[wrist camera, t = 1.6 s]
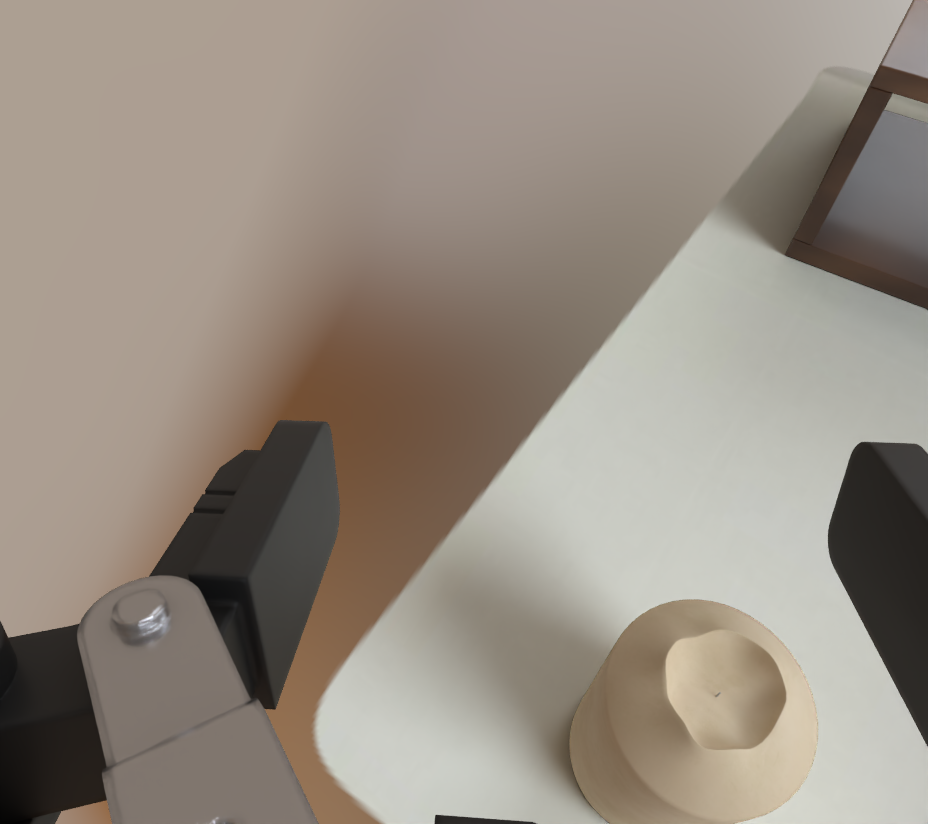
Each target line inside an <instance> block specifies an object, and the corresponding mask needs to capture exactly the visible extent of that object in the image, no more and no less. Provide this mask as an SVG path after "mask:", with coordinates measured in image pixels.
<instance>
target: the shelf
mask: <svg viewBox="0 0 928 824" xmlns="http://www.w3.org/2000/svg"><path fill="white" fill-rule="evenodd" d="M893 93H894V94H897V95H901V96H904V97H907V98H911V99H914V100H917V101H921V102H924V103H927V104H928V0H913V1H912V3H911V5H910V7H909V9H908V11H907V13H906V15H905V17H904V19H903V21H902V23H901V25H900V26H899V28H898V31H897V33H896V34H895V37H894V38H893V40H892V42H891V44H890V46H889V48H888V50H887V52H886V54H885V56H884V58H883V59H882V61H881V63H880V65H879V67H878V69H877V71H876V73H875V75H874V77H873V79H872V81H871V83H870V85H869V87H868V89H867V91H866V93H865V95H864V97H863V99H862V101H861V103H860V105H859V107H858V109H857V111H856V113H855V115H854V117H853V119H852V121H851V123H850V125H849V127H848V129H847V131H846V133H845V135H844V137H843V139H842V141H841V143H840V145H839V147H838V149H837V151H836V153H835V155H834V157H833V159H832V161H831V163H830V165H829V167H828V169H827V171H826V173H825V175H824V178H823V180H822V182H821V184H820V186H819V188H818V190H817V192H816V194H815V196H814V198H813V200H812V202H811V204H810V206H809V208H808V210H807V212H806V214H805V216H804V218H803V220H802V222H801V224H800V226H799V228H798V230H797V232H796V234H795V236H794V238H793V240H792V242H791V244H790V246H789V248H788V250H787V252H786V254H785V255H786V256H789V257H792V258H794V259H797V260H800V261H802V262H805V263H808V264H810V265H813V266H816V267H818V268H821V269H824V270H826V271H829V272H831V273H834V274H837V275H839V276H842V277H845V278H847V279H850V280H853V281H855V282H858V283H861V284H863V285H866V286H869V287H871V288H874V289H877V290H879V291H882V292H885V293H887V294H890V295H892V296H895V297H898V298H900V299H903V300H906V301H908V302H911V303H914V304H916V305H919V306H922V307H924V308H927V309H928V123H926V122H922V121H919V120H916V119H913V118H909V117H906V116H903V115H899V114H896V113H893V112H890V111H886V110H884V109H885V107H886V105H887V103H888V101H889V99H890V97H891V96H892V94H893Z"/></svg>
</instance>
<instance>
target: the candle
mask: <svg viewBox="0 0 928 824" xmlns="http://www.w3.org/2000/svg"><path fill="white" fill-rule="evenodd" d="M817 741H818V720H817V712H816V707H815V703H814V699H813V695H812V692H811V689H810V687H809V684H808V681H807V679H806V677H805V675H804V673H803V671H802V669H801V667H800V666H799V664H798V663H797V661H796V659H795V658H794V656H793V655H792V654H791V652H790V651H789V650H788V649H787V647H786V646H785V645H784V644H783V642H782V641H781V640H780V639H779V638H778V637H777V636H776V635H775V634H774V633H773V632H771V631H770V630H769V629H768V628H766V627H765V626H764V625H763V624H761V623H760V622H758V621H757V620H755V619H754V618H752V617H751V616H749V615H747V614H745V613H743V612H741V611H739V610H737V609H735V608H732V607H730V606H727V605H724V604H720V603H716V602H712V601H705V600H679V601H672V602H668V603H665V604H661V605H659V606H657V607H654V608H652V609H650V610H648V611H647V612H645V613H643V614H642V615H640V616H639V617H638V618H637V619H635V620H634V621H633V622H632V623H631V624H630V625H629V626H628V627H627V628H626V629H625V631H624V632H623V633H622V634H621V636H620V638H619V639H618V641H617V642H616V644H615V645H614V647H613V649H612V650H611V652H610V654H609V655H608V657H607V659H606V660H605V662H604V664H603V665H602V667H601V669H600V670H599V672H598V674H597V675H596V677H595V679H594V680H593V682H592V684H591V685H590V687H589V689H588V690H587V692H586V694H585V695H584V697H583V699H582V700H581V702H580V704H579V706H578V708H577V711H576V713H575V715H574V718H573V722H572V725H571V731H570V742H569V748H570V758H571V763H572V768H573V771H574V774H575V778H576V780H577V782H578V785H579V787H580V789H581V791H582V792H583V794H584V796H585V797H586V799H587V800H588V802H589V803H590V804H591V806H592V807H593V808H594V809H595V810H596V811H597V812H598V813H599V814H600V815H601V816H602V817H603V818H604V819H605V820H606V821H608V822H609V823H610V824H734V823H738V822H742V821H746V820H750V819H754V818H757V817H760V816H763V815H766V814H768V813H770V812H772V811H774V810H776V809H778V808H779V807H780V806H782V805H783V804H784V803H786V802H787V801H788V800H789V799H790V798H791V797H792V796H793V795H794V794H795V793H796V792H797V791H798V790H799V788H800V787H801V785H802V784H803V782H804V781H805V779H806V778H807V776H808V773H809V771H810V769H811V767H812V764H813V761H814V757H815V754H816V748H817Z"/></svg>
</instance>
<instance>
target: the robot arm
mask: <svg viewBox="0 0 928 824" xmlns="http://www.w3.org/2000/svg"><path fill="white" fill-rule="evenodd" d="M205 492H206V493H205V494H203V495H202V496H201V498H200V499H199V501H198V502H197V504H196V505H195V507H194V512H193V513H190V515H189V516H188V517H187V519H186V521H185V522H184V524H183V525H182V527H181V528H180V530H179V531H178V533H177V535H176V536H175V537H174V539H173V541H172V542H171V544H170V545H169V547H168V548H167V550H166V551H165V553H164V554H163V556H162V557H161V559H160V561H159V562H158V564H157V565H156V567H155V568H154V570H153V571H152V573H151V574H150V576H149V577H145V578H141V579H138V580H134V581H131V582H128V583H126V584H124V585H121V586H119V587H117V588H115V589H114V590H112V591H110V592H108V593H107V594H105V595H104V596H103V597H101V598H100V599H99V600H98V601H96V602H95V603H94V604H93V605H92V606H91V607H90V609H89V610H88V611H87V612H86V613H85V615H84V617H83V618H82V620H81V622H80V624H77V625H73V626H68V627H63V628H58V629H52V630H48V631H42V632H37V633H31V634H26V635H21V636H16V637H10V638H8V637H7V634H6V632H5V630H4V628H3V626H2V624H1V622H0V824H55V822H56V821H57V819H58V817H59V815H60V813H61V811H63V810H68V809H72V808H76V807H80V806H84V805H88V804H92V803H97V802H101V801H105V800H107V802H108V806H109V811H110V816H111V820H112V824H318V821H317V819H316V817H315V815H314V813H313V811H312V809H311V807H310V804H309V802H308V800H307V798H306V796H305V794H304V792H303V789H302V787H301V785H300V783H299V781H298V779H297V777H296V775H295V773H294V771H293V768H292V766H291V764H290V762H289V760H288V758H287V756H286V754H285V751H284V749H283V747H282V745H281V743H280V741H279V739H278V737H277V735H276V733H275V730H274V728H273V726H272V724H271V722H270V720H269V718H268V716H267V713H266V711H265V709H276V706H277V704H278V701H279V698H280V695H281V692H282V690H283V687H284V684H285V681H286V678H287V675H288V673H289V669H290V667H291V664H292V661H293V659H294V655H295V653H296V650H297V647H298V645H299V641H300V639H301V636H302V633H303V630H304V628H305V625H306V622H307V619H308V616H309V614H310V611H311V608H312V605H313V602H314V599H315V596H316V594H317V591H318V588H319V585H320V583H321V580H322V577H323V574H324V571H325V568H326V566H327V563H328V560H329V557H330V554H331V552H332V549H333V546H334V543H335V540H336V537H337V532H338V526H339V515H340V507H339V506H340V505H339V494H338V485H337V477H336V468H335V459H334V451H333V442H332V434H331V430H330V426H329V424H328V423H327V422H319V421H317V422H316V421H290V420H289V421H288V420H280V421H278V422H277V424H276V425H275V427H274V428H273V430H272V432H271V434H270V435H269V437H268V439H267V440H266V442H265V444H264V445H263V447H262V449H261V451H259V450H244V451H243V452H241V453H240V454H239V455H237V456H236V457H234V458H233V459H232V460H230V461H229V462H227V463H226V464H225V465H223V466H222V467H221V468H219V470H218V471H217V473H216V474H215V476H214V478H213V479H212V481H211V482H210V484H209V485H208V487H207V488H206V490H205ZM828 548H829V554H830V558H831V561H832V564H833V566H834V568H835V570H836V572H837V574H838V576H839V578H840V580H841V582H842V584H843V586H844V587H845V589H846V591H847V593H848V595H849V597H850V599H851V601H852V603H853V605H854V607H855V609H856V610H857V612H858V614H859V616H860V618H861V620H862V622H863V624H864V626H865V628H866V630H867V632H868V633H869V635H870V637H871V639H872V641H873V643H874V645H875V647H876V649H877V651H878V653H879V654H880V656H881V658H882V660H883V662H884V664H885V666H886V668H887V670H888V672H889V674H890V676H891V677H892V679H893V681H894V683H895V685H896V687H897V689H898V691H899V693H900V695H901V697H902V698H903V700H904V702H905V704H906V706H907V708H908V710H909V712H910V714H911V716H912V718H913V720H914V721H915V723H916V725H917V727H918V729H919V731H920V733H921V735H922V737H923V739H924V741H925V743H926V744H927V746H928V454H927V453H926V451H925V450H924V449H923V448H922V447H921V446H919V445H917V444H907V443H879V442H861V443H859V444H858V445H857V446H856V447H855V448H854V450H853V452H852V454H851V456H850V459H849V463H848V466H847V469H846V472H845V476H844V479H843V482H842V485H841V488H840V492H839V495H838V498H837V501H836V505H835V508H834V511H833V514H832V517H831V521H830V524H829V530H828ZM435 824H536V823H533V822H524V821H511V820H497V819H484V818H470V817H457V816H444V815H436V816H435Z"/></svg>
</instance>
